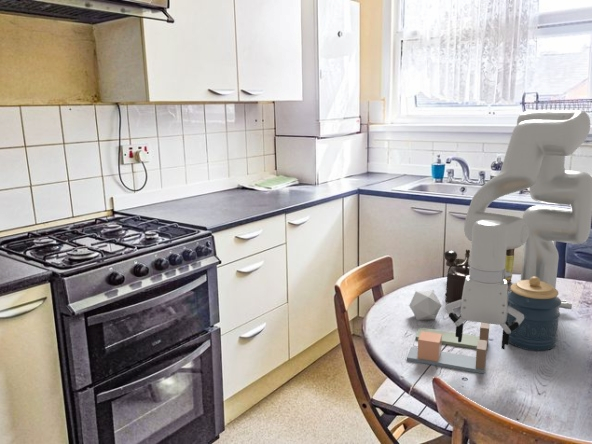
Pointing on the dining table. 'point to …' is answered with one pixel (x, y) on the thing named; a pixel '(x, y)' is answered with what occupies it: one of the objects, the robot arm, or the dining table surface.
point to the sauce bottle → (509, 263)
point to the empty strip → (467, 340)
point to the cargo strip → (456, 359)
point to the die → (425, 305)
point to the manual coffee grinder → (456, 276)
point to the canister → (534, 314)
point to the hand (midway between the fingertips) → (481, 343)
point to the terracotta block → (429, 346)
